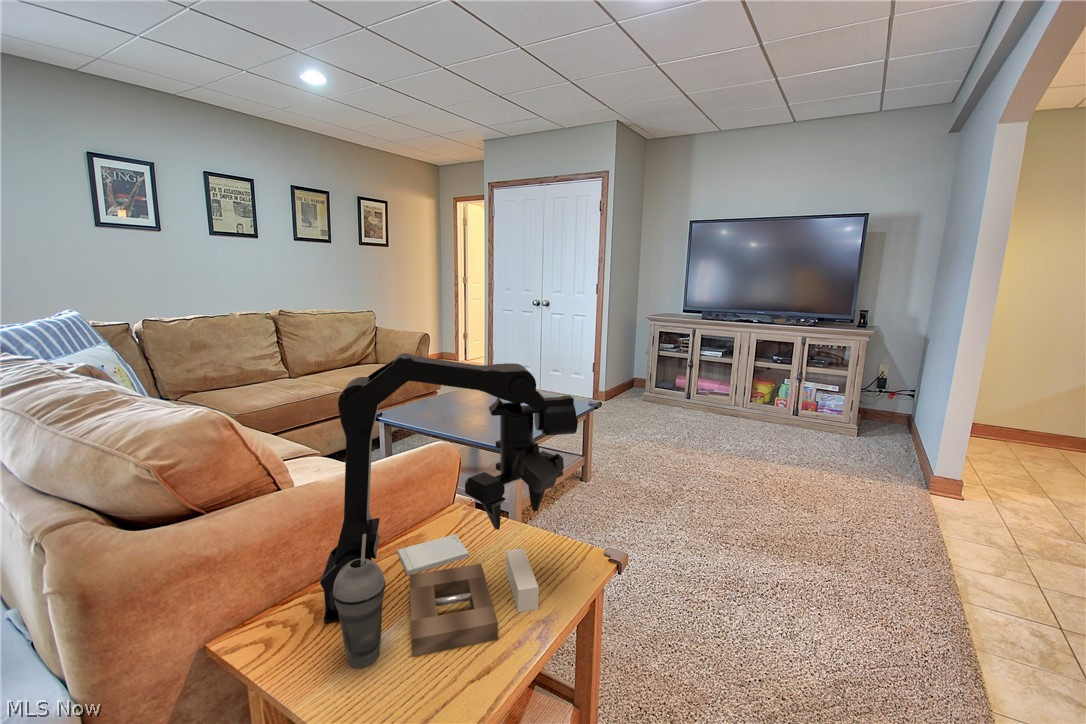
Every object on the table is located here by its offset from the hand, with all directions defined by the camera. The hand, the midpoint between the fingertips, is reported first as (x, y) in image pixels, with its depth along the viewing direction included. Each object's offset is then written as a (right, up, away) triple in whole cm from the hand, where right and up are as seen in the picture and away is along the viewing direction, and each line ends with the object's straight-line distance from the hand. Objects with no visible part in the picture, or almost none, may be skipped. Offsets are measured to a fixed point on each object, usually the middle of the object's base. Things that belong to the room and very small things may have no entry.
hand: (516, 519), depth 86 cm
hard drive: (-18, -12, +11) cm, 24 cm away
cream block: (+1, -13, +1) cm, 13 cm away
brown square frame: (-11, -14, -5) cm, 19 cm away
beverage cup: (-22, -16, -15) cm, 31 cm away
